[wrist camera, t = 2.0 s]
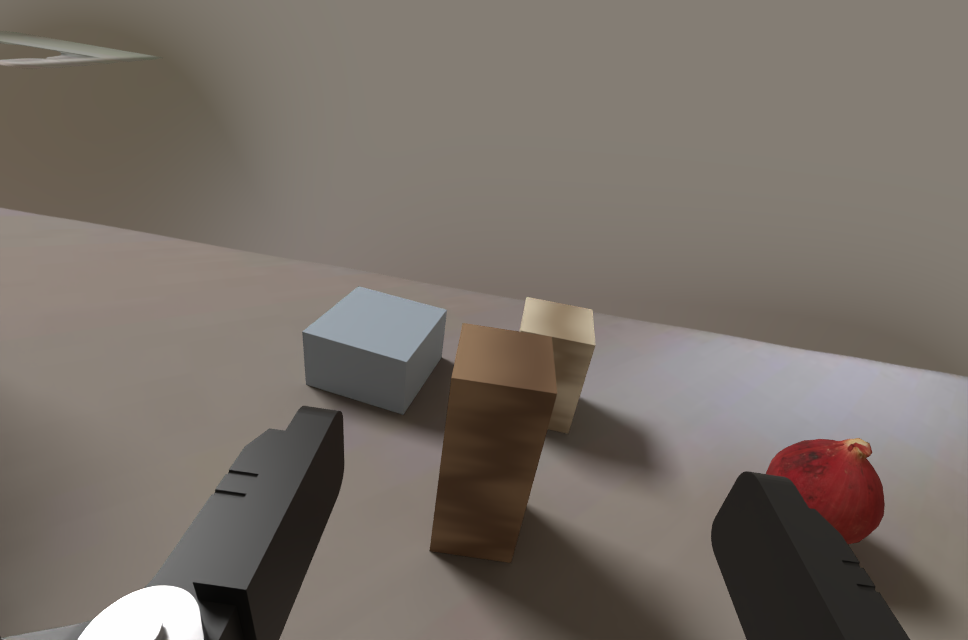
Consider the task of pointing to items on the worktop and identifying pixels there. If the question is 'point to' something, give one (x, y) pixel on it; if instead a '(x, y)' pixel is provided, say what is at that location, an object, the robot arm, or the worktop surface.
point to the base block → (374, 348)
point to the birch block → (563, 351)
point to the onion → (835, 483)
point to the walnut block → (492, 440)
